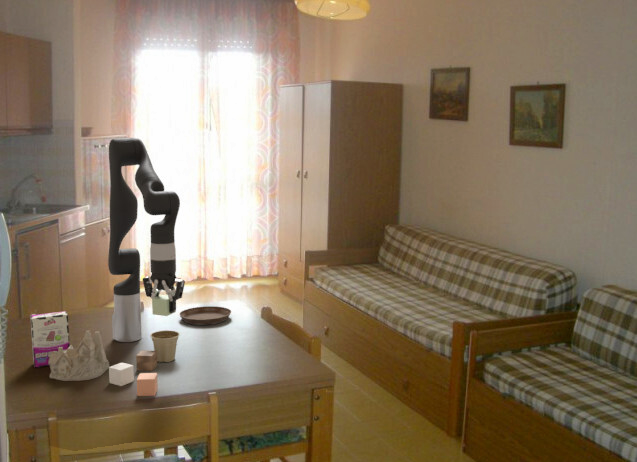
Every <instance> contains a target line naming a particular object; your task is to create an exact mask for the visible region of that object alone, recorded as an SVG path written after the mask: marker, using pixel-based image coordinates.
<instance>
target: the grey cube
mask: <svg viewBox="0 0 637 462" xmlns="http://www.w3.org/2000/svg"><path fill="white" fill-rule="evenodd" d="M108 376H109V377H108V378H109V381H108V382H109V384H113V385H116V386H119V387H123V386H126V385H127V384H130V383H133V382H134V381H135V380H134V379H135V377H134V376H135V371H134V364H129V363H125V362H119V363H117V364H113V365H111V366H110V367H109V368H108Z"/></svg>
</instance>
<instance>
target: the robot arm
mask: <svg viewBox="0 0 637 462" xmlns="http://www.w3.org/2000/svg"><path fill="white" fill-rule="evenodd" d="M108 159H109V160H108V162H109V163H108V165H109V177H110V178H109V179H110V180H109V181H110V184H109V186H110V188H109V189H110V190H109V191H110V193H109V245H108V255H107V256H108V257H107V258H108V259H107V262H108V263H107V265H108V271H109V273H110V274H111V275H113V276H120V275H121V276H122V275H129V276H128V277H127V278H126V279H124V280H122V281H121V282H120V281H119V282H118V283H116V284H115V285H114V286H113V307H114V308H113V310H114V311H113V313H112V315H111V319H112V320H111V321H112V324H111V325H112V340H115V341H116V342H120V343H131V342H136V341H139V340H141V339H142V306H141V253H140V251H139V249H137V248H121V245H122V242H123V240H124V238H126V235H127V234H128V233H129V232H130V231H131V229H132V228H133V226H134V225H135V223H136V222H137V220H138V206H139V205H138V204H139V203H138V198H137V196H136V194H135V193H134V192H133V190H132V188H130V186H129V185H128V183H127V182H126V179H125V178H124V176H123V171H122V168H123V167H130V166H138V168H137V169H136V172H135V175H134V181H135V185H136V186H137V188H138V190H139V191H140V193H141V195H142V200H143V201H142V202H143V209H144V211H145V212H146V213H147V214H149V215H151V216H164V217H163V219H162V220H161V221H158V222H155V223H153V224H151V225H150V231H149V232H150V249H149V257H150V258H149V260H150V262H149V263H150V273H151V275H150V276H145V277H143V278H142V283H143V287H144V291H145V296H146V297H147V298H148V297H149V298H150V299H151V300H152V298H155V297H157V296H160V295H161V292H162V291H164V292H165V295H168V297H169V300H170V301H169V313H173V312H175V310H176V311H177V301H178V300H179V299H182V298H183V294H184V289H185V284H186V283H185V282H186V281H185V280H184V279H178V278H177V276H176V272H177V259H176V258H177V257H176V245H175V241H176V240H175V226H176V222H177V218H178V214H179V211H180V205H181V203H180V201H181V200H180V197H179V195H178V194H177V192H175V191H172V190H168V191H167V190H165V186H164V183H163V182H162V180H161V178H159V176H158V174H157V173H156V172H155V171H156V170H154V167H153V164H152V162H151V158H150V156H149V154H148V151H147V149H146V146H145V144H144V142H143V141H142V140H141V139H140V138H139V137H117V138H112V139H110V141H109V145H108ZM175 313H176V312H175ZM173 314H174V313H173Z"/></svg>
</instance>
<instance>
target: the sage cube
mask: <svg viewBox="0 0 637 462" xmlns="http://www.w3.org/2000/svg"><path fill="white" fill-rule="evenodd" d="M169 301H170V300H169V297H168V295H167V294H159V296H157V297H155V298H152V299H151V305H152V307H151V309H152V315H153V316H154V315H156V316H161V317H168V316H170V315H172V314H175V313H176V312H177V309H176V310H175V312H173V313H169Z"/></svg>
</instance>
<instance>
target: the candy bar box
mask: <svg viewBox="0 0 637 462" xmlns="http://www.w3.org/2000/svg"><path fill="white" fill-rule="evenodd" d="M29 317H30V318H29V319H30V329H31V332H30V333H31V334H30V335H31V343H32V344H31V347H32V348H31V349H32V360H33V361H32V363H33V367H34V368H35V367H38V368H44V367H43V366H45V367H50V365H49V364H48V362H49V359H50V356H51V353H52V352H53V351H54V352H59V351H58V349H59V347H60V348H61V347H63V351H66V350H67V349H68V348H69V346H70V345H71V344H70V331H69V330H70V328H69V314H68V312H67V311H58V312H57V311H56V312H49V313H41V314H40V313H39V314H31V315H30V316H29Z"/></svg>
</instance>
